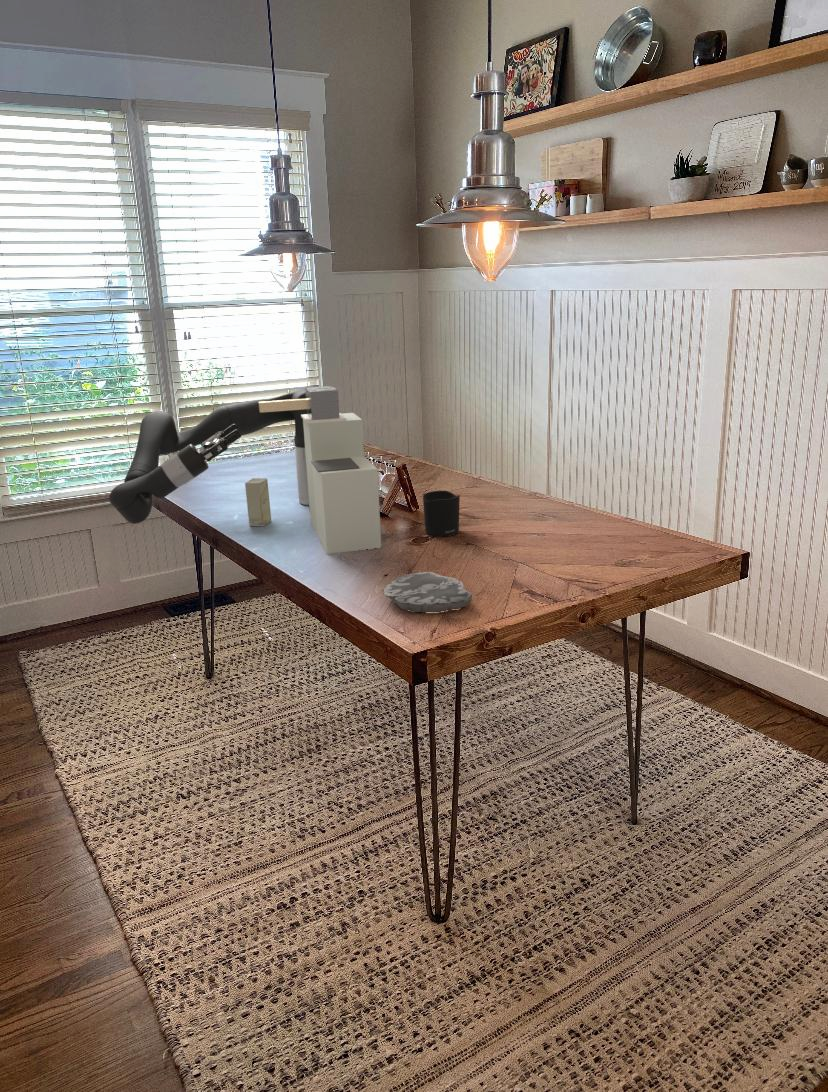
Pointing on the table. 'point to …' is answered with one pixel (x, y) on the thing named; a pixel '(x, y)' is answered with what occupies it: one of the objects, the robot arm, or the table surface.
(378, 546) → the stepped stand
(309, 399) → the mallet
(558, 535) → the table surface
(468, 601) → the brain slice
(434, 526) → the pen holder
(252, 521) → the skincare box
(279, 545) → the table surface
